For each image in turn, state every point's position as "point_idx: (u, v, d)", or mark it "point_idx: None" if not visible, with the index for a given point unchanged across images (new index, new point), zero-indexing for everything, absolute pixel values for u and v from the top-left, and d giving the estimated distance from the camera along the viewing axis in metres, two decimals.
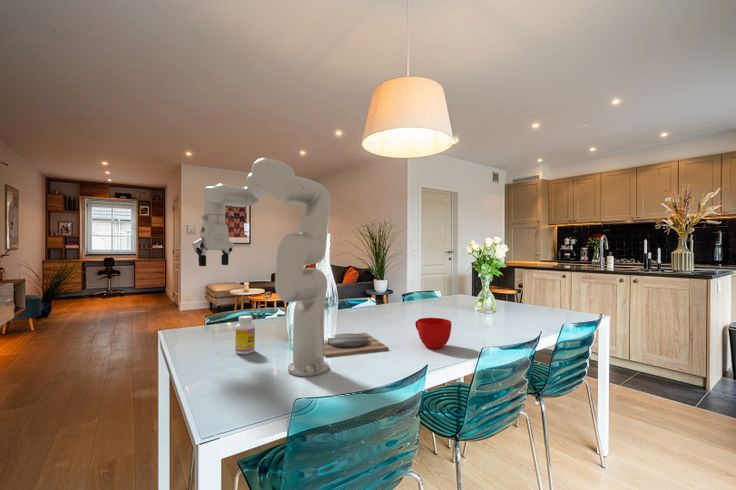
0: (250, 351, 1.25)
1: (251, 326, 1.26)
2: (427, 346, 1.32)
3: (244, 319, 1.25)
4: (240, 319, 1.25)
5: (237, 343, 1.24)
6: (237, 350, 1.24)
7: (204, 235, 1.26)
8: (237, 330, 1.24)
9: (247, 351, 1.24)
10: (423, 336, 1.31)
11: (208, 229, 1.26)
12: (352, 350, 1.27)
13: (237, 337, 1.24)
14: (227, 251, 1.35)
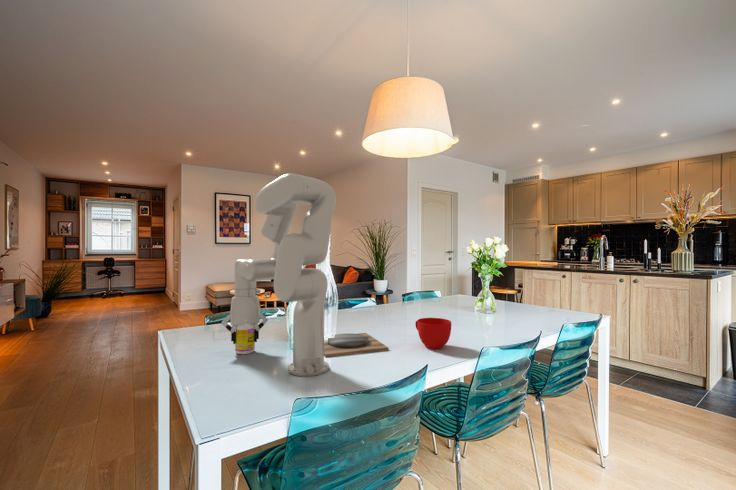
0: (250, 351, 1.25)
1: (251, 326, 1.26)
2: (427, 346, 1.32)
3: None
4: None
5: (237, 343, 1.24)
6: (237, 350, 1.24)
7: None
8: (237, 330, 1.24)
9: (247, 351, 1.24)
10: (423, 336, 1.31)
11: None
12: (352, 350, 1.27)
13: (237, 337, 1.24)
14: None
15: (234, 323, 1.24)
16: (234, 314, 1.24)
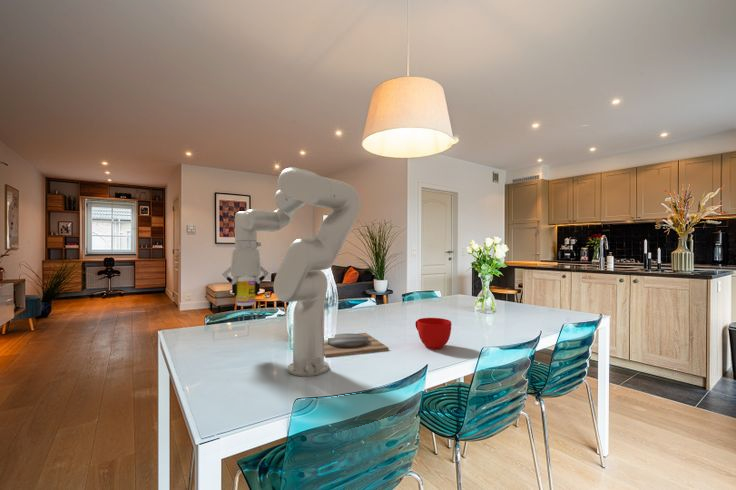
0: (251, 303, 1.25)
1: (252, 278, 1.26)
2: (427, 346, 1.32)
3: None
4: None
5: (238, 295, 1.24)
6: (238, 302, 1.24)
7: None
8: (238, 282, 1.24)
9: (248, 302, 1.24)
10: (423, 336, 1.31)
11: None
12: (352, 350, 1.27)
13: (238, 289, 1.24)
14: None
15: (235, 274, 1.24)
16: (235, 265, 1.24)
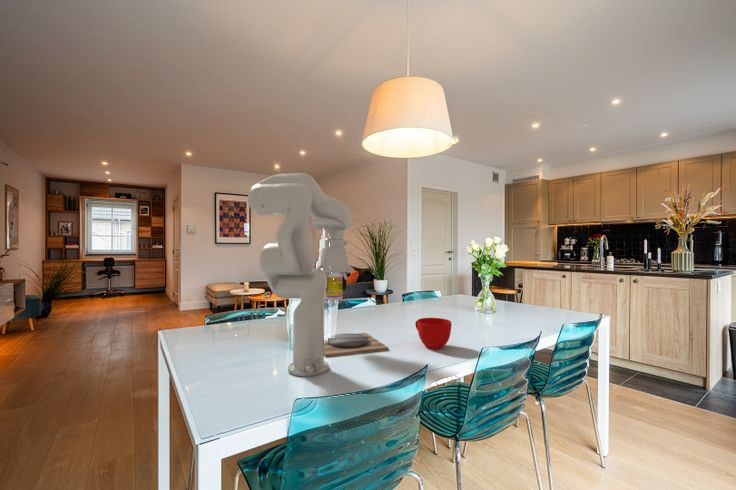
0: (340, 297, 1.34)
1: (341, 274, 1.34)
2: (427, 346, 1.32)
3: None
4: None
5: (329, 290, 1.33)
6: (329, 296, 1.33)
7: None
8: (328, 278, 1.33)
9: (338, 297, 1.33)
10: (423, 336, 1.31)
11: None
12: (352, 350, 1.27)
13: (329, 284, 1.33)
14: None
15: (326, 271, 1.32)
16: (326, 262, 1.32)
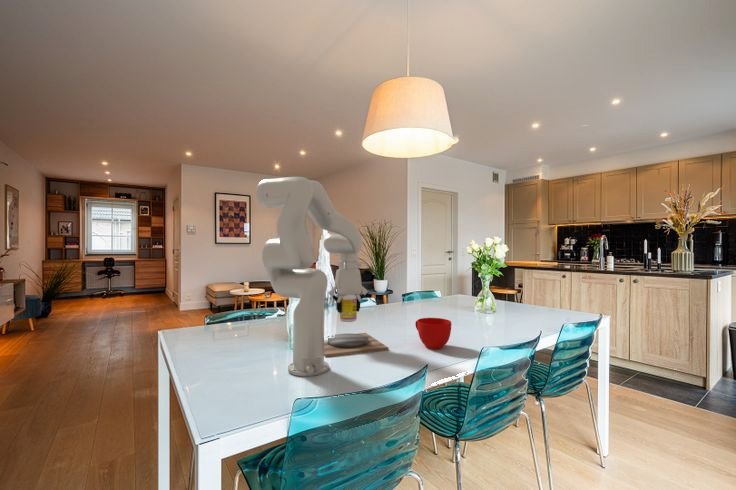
0: (354, 319, 1.35)
1: (355, 296, 1.36)
2: (427, 346, 1.32)
3: None
4: None
5: (343, 312, 1.34)
6: (343, 318, 1.34)
7: None
8: (343, 300, 1.34)
9: (352, 319, 1.34)
10: (423, 336, 1.31)
11: None
12: (352, 350, 1.27)
13: (343, 306, 1.34)
14: None
15: (340, 293, 1.34)
16: (340, 285, 1.34)
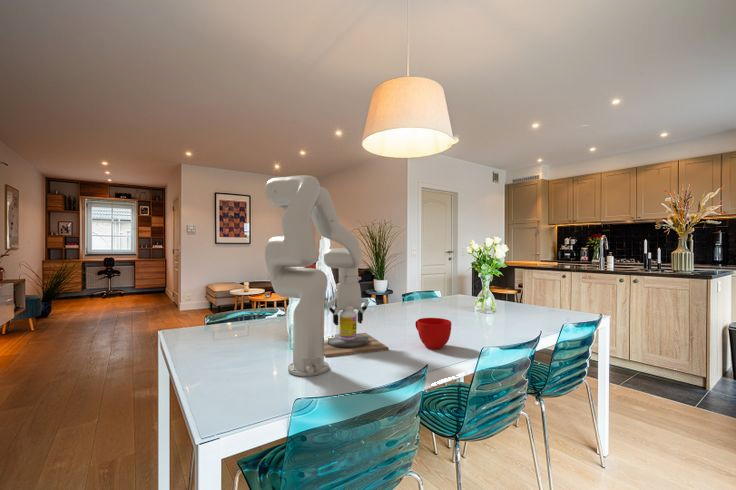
0: (354, 337, 1.35)
1: (355, 314, 1.35)
2: (427, 346, 1.32)
3: (349, 308, 1.35)
4: None
5: (343, 330, 1.34)
6: (343, 336, 1.34)
7: None
8: (343, 318, 1.34)
9: (352, 337, 1.34)
10: (423, 336, 1.31)
11: None
12: (352, 350, 1.27)
13: (343, 324, 1.34)
14: None
15: (340, 307, 1.34)
16: (340, 299, 1.34)
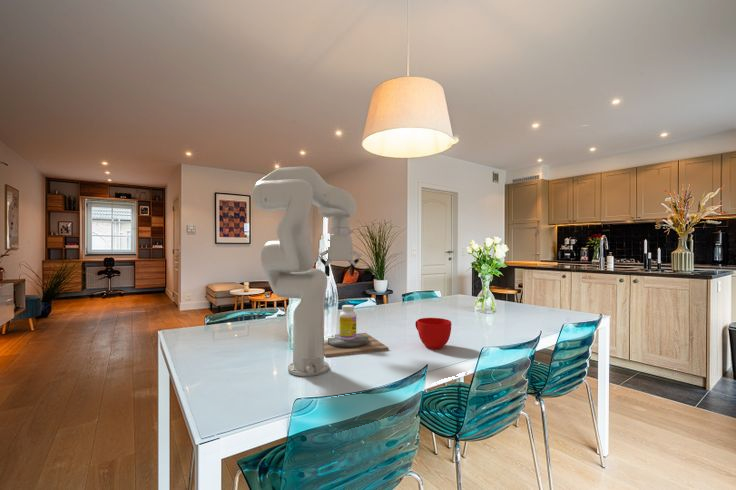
0: (354, 337, 1.35)
1: (354, 314, 1.35)
2: (427, 346, 1.32)
3: (348, 308, 1.35)
4: (345, 308, 1.35)
5: (342, 330, 1.34)
6: (343, 336, 1.34)
7: None
8: (342, 318, 1.34)
9: (352, 337, 1.34)
10: (423, 336, 1.31)
11: None
12: (352, 350, 1.27)
13: (342, 324, 1.34)
14: None
15: (331, 258, 1.35)
16: (332, 250, 1.35)
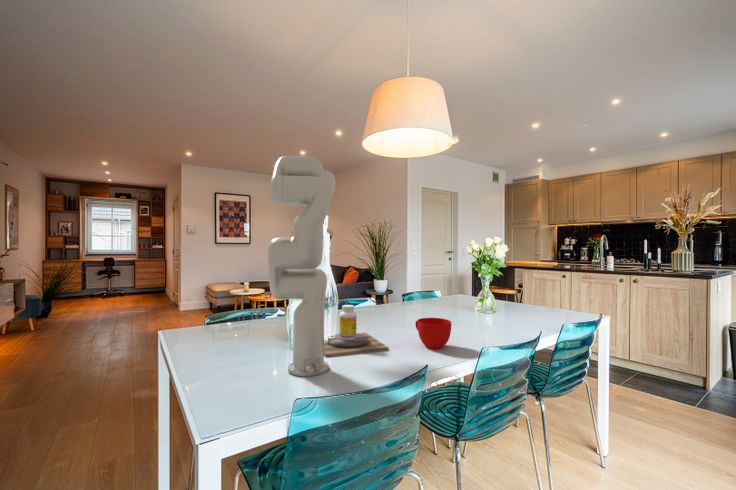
0: (354, 337, 1.35)
1: (354, 314, 1.35)
2: (427, 346, 1.32)
3: (349, 308, 1.35)
4: (345, 308, 1.35)
5: (343, 330, 1.34)
6: (343, 336, 1.34)
7: None
8: (342, 318, 1.34)
9: (352, 337, 1.34)
10: (423, 336, 1.31)
11: None
12: (352, 350, 1.27)
13: (342, 324, 1.34)
14: None
15: None
16: None
